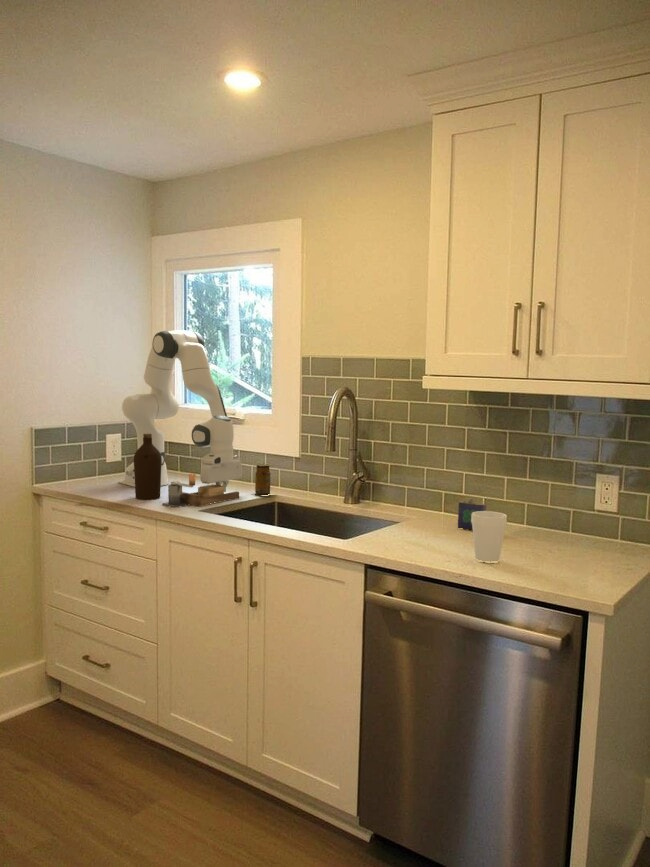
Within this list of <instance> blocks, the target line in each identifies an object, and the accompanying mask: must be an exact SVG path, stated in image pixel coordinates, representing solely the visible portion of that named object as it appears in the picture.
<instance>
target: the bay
mask: <svg viewBox="0 0 650 867" xmlns="http://www.w3.org/2000/svg"><path fill="white" fill-rule="evenodd" d="M182 498H183V500H182V502H185V503H188V505H187V506H192V505H194V506H193V507H201V506H202V505H203V506H207V505H206V504H208V505H211V504H210V503H213V504H215V503H214V502H218V503H220V502H219V501H223V502H225V501H224V500H228V501H230V500H229V499H233V500H236V499H235V498H238V499H240V491H231V492H227V493H226V492H225V493H224V494H220V495H215V496H210V497H205V498H201V495H198V491H195V492H190V493H189V492H186V491H185V492H183V491H182ZM203 506H202V507H203Z"/></svg>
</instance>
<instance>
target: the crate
mask: <svg viewBox="0 0 650 867" xmlns="http://www.w3.org/2000/svg"><path fill="white" fill-rule="evenodd" d="M197 492H198V495H201V498H205V497H210V496H215V495H220V494H225V492H224V486H222V484H221V485H216V484H215V483H211V484H206V485H202V486H198V487H197Z"/></svg>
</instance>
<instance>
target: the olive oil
mask: <svg viewBox="0 0 650 867" xmlns="http://www.w3.org/2000/svg"><path fill="white" fill-rule="evenodd" d="M143 436H144V437H143V444H142V446H141V447H140V448H139V449H138V448H137V450H136V451H135V452H134V453H135V454H134V455H133V462H134V475H135V487H134V490H135V491H134V492H135V493H134V494H135V499H137V500H141V501H151V499H153V500H158V499H160V498H161V489H162V488H161V487H162V486H161V464H162V457H161V454H160V452H159V451H158V450H157V448H156V447H155V446H154V445H153V444H152V434H143ZM157 498H158V499H157Z"/></svg>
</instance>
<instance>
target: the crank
mask: <svg viewBox="0 0 650 867" xmlns="http://www.w3.org/2000/svg"><path fill="white" fill-rule="evenodd" d="M170 485H179V486H182V487H185V488H186V487H187V488H194V486H196V473H189V474H188V483H184V482H180V481H178V480H177V481H175V480H174V481H170Z"/></svg>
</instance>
